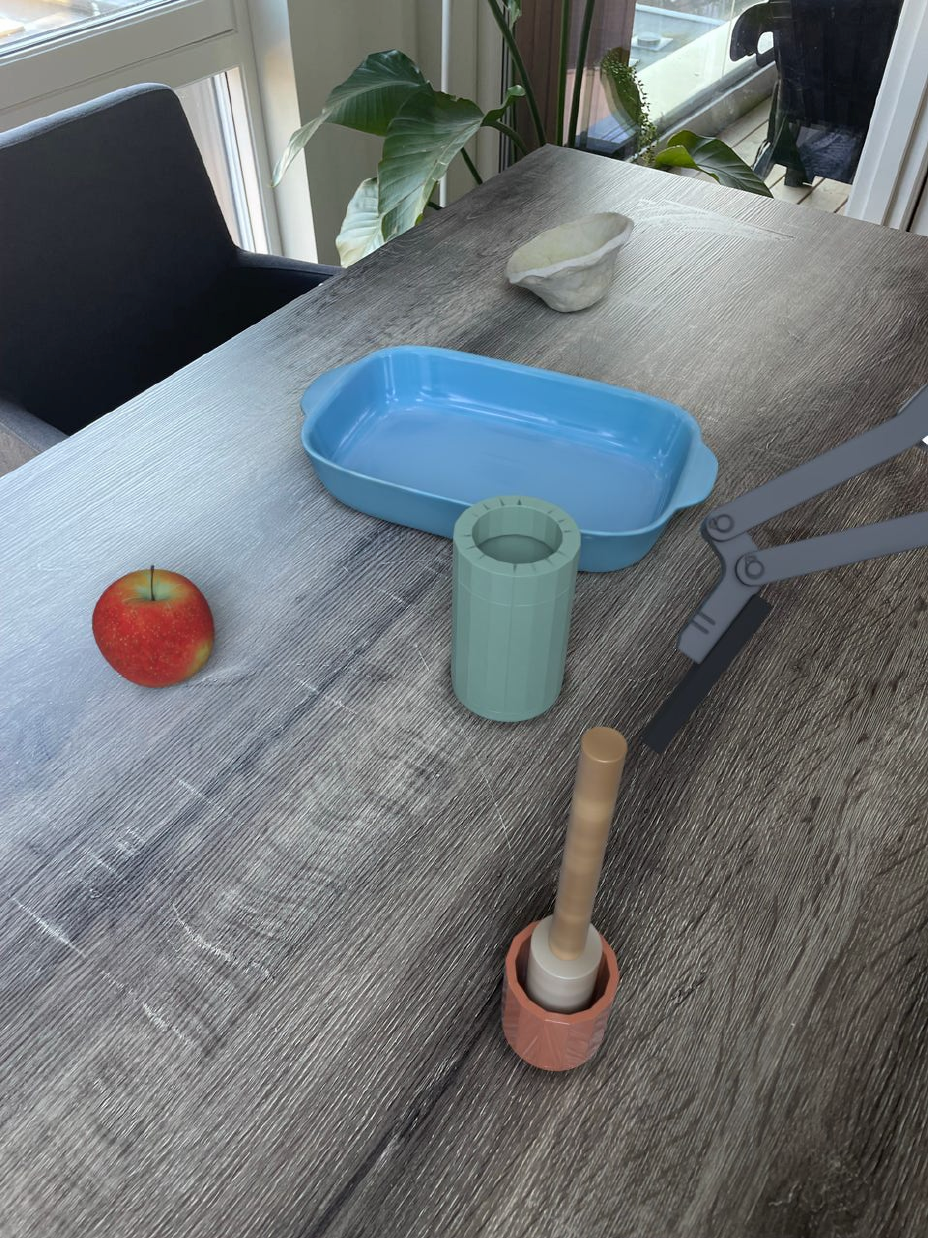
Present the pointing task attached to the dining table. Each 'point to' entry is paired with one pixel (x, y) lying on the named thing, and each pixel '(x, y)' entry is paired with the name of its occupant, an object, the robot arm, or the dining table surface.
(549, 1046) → the cup
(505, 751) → the dining table surface
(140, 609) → the apple
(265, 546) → the dining table surface
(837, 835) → the dining table surface
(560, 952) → the tan long rod
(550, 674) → the green cylindrical holder
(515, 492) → the casserole dish
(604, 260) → the bowl
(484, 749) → the dining table surface
